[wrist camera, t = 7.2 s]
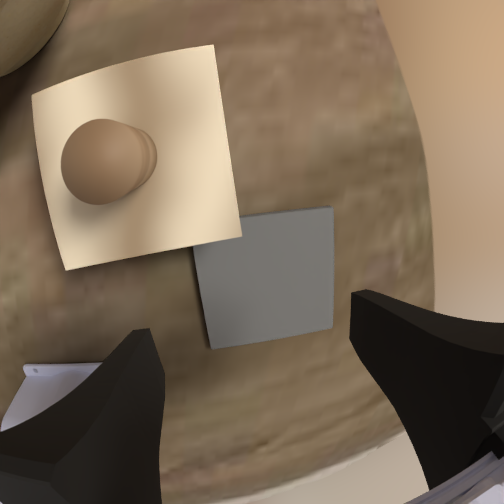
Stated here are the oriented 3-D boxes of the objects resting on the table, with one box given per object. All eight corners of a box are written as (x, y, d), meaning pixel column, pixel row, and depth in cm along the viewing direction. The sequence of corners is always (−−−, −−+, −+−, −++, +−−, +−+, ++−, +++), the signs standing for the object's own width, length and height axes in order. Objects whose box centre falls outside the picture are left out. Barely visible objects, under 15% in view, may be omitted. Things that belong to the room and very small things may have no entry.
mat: (210, 344, 22) (211, 349, 21) (189, 222, 19) (189, 224, 18) (329, 323, 23) (332, 327, 22) (329, 205, 20) (333, 207, 19)
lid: (72, 263, 14) (31, 307, 10) (40, 97, 11) (-15, 84, 7) (239, 231, 15) (257, 267, 11) (212, 51, 12) (218, 7, 8)
